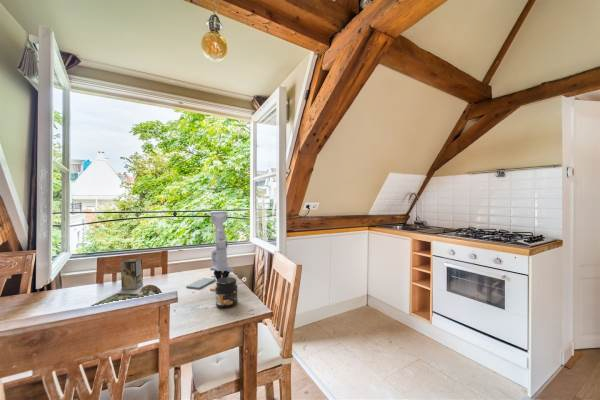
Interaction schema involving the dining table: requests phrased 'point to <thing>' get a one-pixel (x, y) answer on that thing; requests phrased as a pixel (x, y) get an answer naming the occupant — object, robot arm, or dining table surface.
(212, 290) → the stub
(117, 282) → the dining table surface
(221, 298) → the supplement container
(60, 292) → the dining table surface
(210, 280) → the board
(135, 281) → the coffee box
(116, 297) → the olive sloped mound
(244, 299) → the dining table surface
